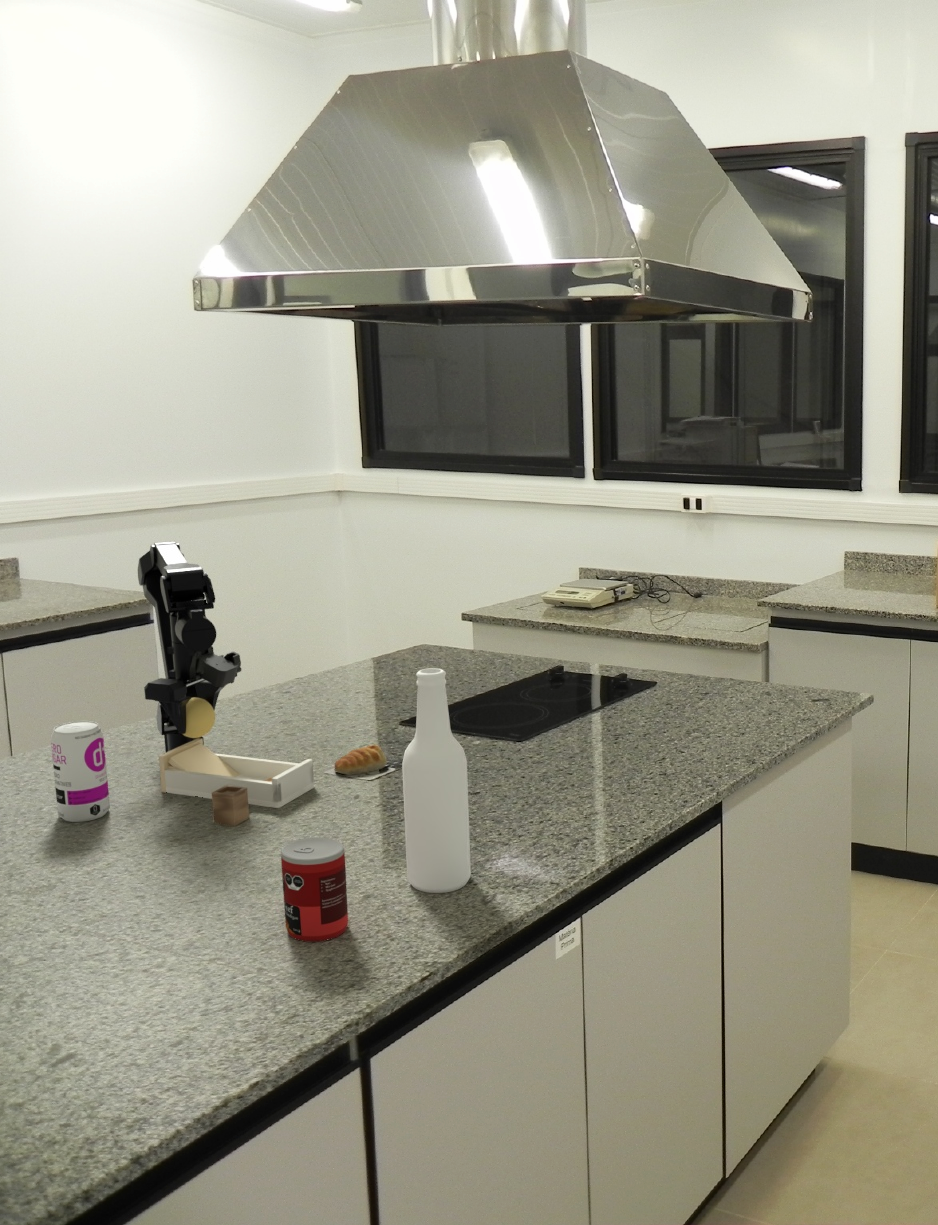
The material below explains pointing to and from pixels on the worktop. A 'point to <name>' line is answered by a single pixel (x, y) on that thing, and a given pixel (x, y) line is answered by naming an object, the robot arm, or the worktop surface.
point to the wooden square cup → (230, 805)
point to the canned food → (314, 888)
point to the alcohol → (435, 794)
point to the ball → (199, 717)
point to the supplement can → (80, 771)
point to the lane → (233, 775)
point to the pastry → (361, 760)
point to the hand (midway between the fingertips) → (195, 727)
